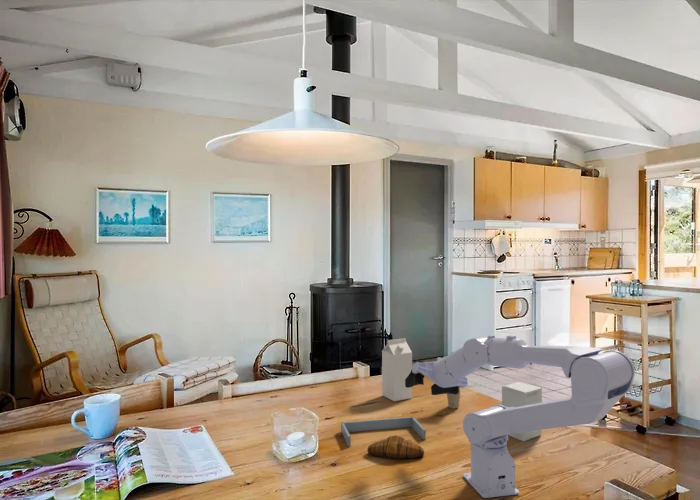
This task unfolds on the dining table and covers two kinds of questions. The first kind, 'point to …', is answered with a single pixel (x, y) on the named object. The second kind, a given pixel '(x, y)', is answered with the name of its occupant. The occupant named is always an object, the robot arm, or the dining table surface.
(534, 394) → the supplement box
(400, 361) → the milk carton
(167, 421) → the dining table surface
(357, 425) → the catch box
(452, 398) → the handle
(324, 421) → the dining table surface
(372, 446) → the croissant
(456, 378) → the robot arm
